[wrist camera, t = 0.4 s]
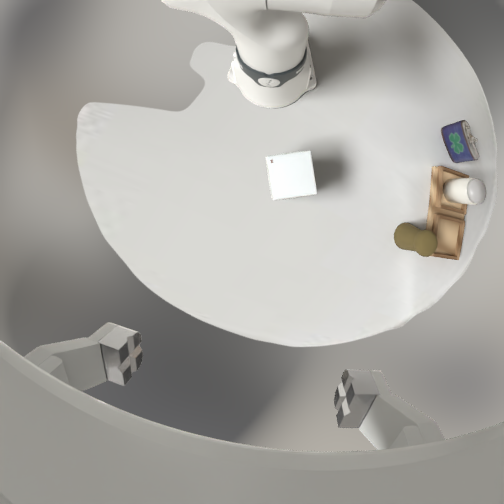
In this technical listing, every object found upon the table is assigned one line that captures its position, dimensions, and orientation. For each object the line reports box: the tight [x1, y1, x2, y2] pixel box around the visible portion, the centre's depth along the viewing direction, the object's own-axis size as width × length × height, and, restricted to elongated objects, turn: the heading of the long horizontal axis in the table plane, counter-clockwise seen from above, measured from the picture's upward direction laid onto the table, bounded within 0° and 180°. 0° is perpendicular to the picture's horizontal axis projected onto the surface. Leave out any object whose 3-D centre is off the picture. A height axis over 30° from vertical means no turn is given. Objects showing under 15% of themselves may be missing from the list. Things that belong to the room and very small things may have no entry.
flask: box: [441, 120, 479, 163], centre depth 43 cm, size 9×3×11 cm, turn 22°
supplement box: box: [266, 151, 317, 200], centre depth 47 cm, size 7×7×13 cm
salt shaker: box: [443, 178, 486, 205], centre depth 44 cm, size 6×6×11 cm
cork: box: [394, 223, 438, 257], centre depth 48 cm, size 6×6×11 cm
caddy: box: [426, 166, 469, 260], centre depth 50 cm, size 20×11×3 cm, turn 174°
